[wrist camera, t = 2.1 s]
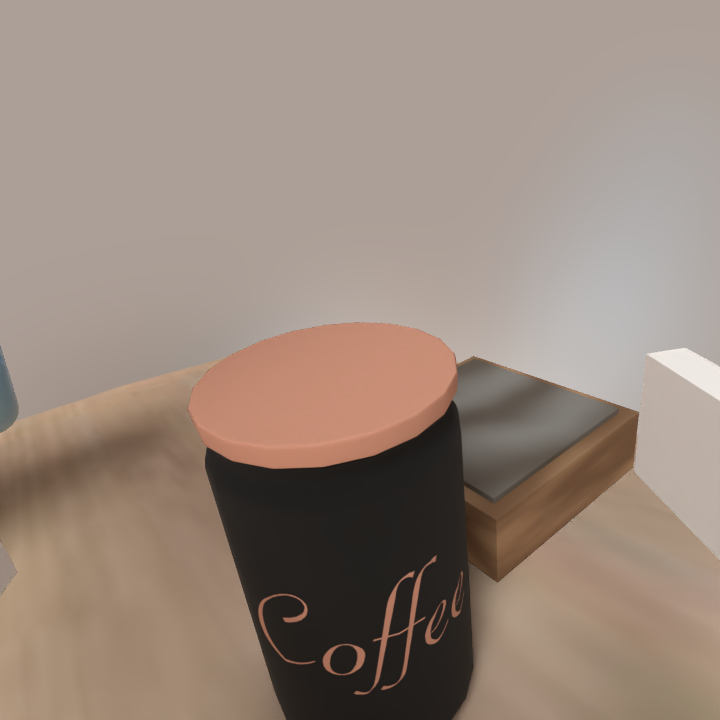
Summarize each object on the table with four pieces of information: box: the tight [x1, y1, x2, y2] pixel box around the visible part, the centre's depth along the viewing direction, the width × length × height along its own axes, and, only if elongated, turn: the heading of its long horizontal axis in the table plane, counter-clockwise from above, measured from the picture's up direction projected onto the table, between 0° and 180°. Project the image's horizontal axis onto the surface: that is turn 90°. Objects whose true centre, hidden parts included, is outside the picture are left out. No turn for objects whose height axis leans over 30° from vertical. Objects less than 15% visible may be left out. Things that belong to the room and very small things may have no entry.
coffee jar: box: [188, 322, 473, 720], centre depth 24 cm, size 11×11×18 cm
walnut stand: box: [452, 356, 639, 582], centre depth 40 cm, size 16×16×5 cm
